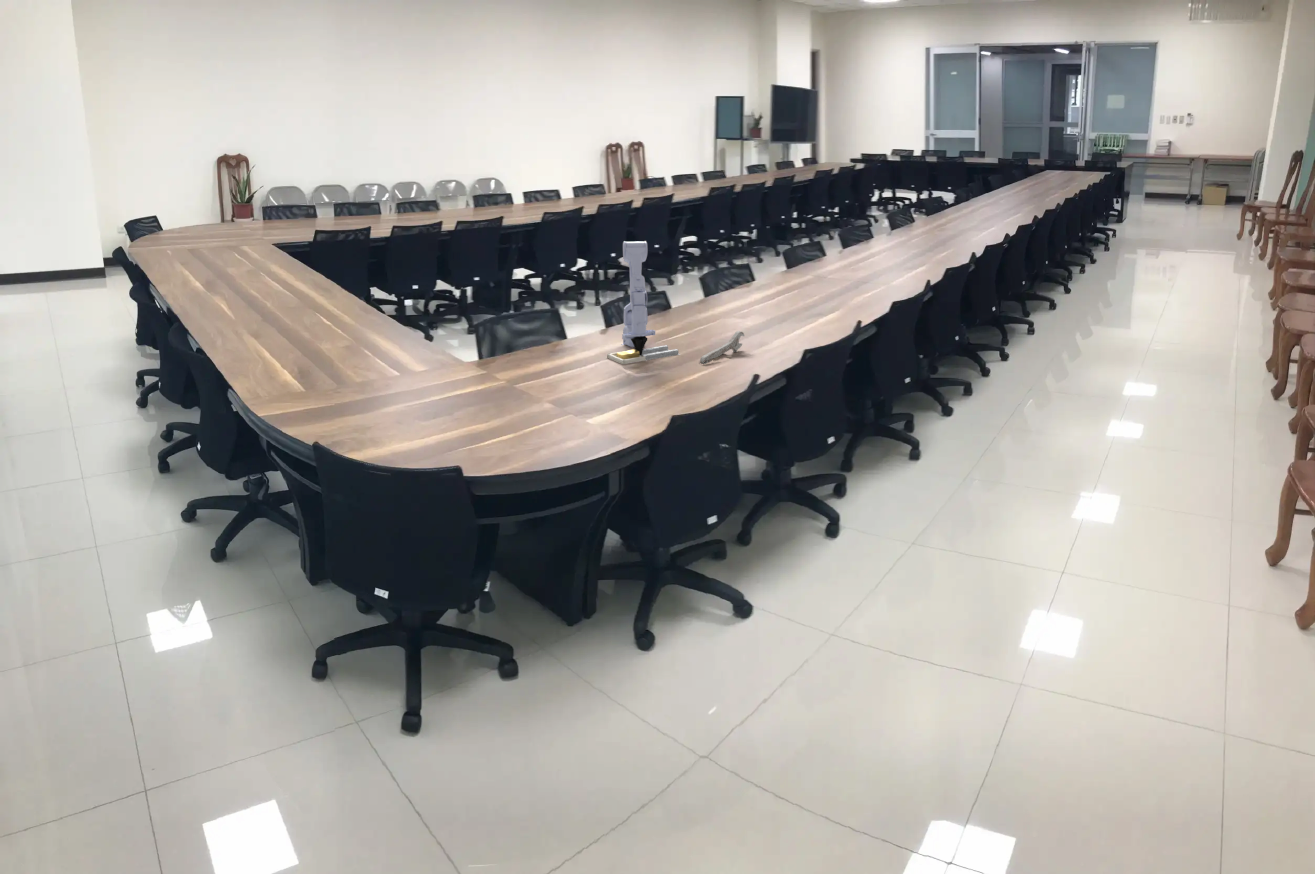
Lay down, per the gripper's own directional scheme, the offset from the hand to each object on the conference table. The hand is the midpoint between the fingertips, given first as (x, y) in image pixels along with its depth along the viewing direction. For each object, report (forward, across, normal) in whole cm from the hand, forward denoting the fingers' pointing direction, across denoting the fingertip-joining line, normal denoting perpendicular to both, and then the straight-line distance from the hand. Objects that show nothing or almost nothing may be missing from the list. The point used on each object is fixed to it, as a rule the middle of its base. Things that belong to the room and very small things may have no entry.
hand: (639, 354), depth 366 cm
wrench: (+2, +31, -15) cm, 34 cm away
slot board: (+2, +8, 0) cm, 8 cm away
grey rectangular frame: (+2, -6, 0) cm, 6 cm away
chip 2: (+1, -3, 0) cm, 3 cm away
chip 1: (+1, -7, 0) cm, 7 cm away
